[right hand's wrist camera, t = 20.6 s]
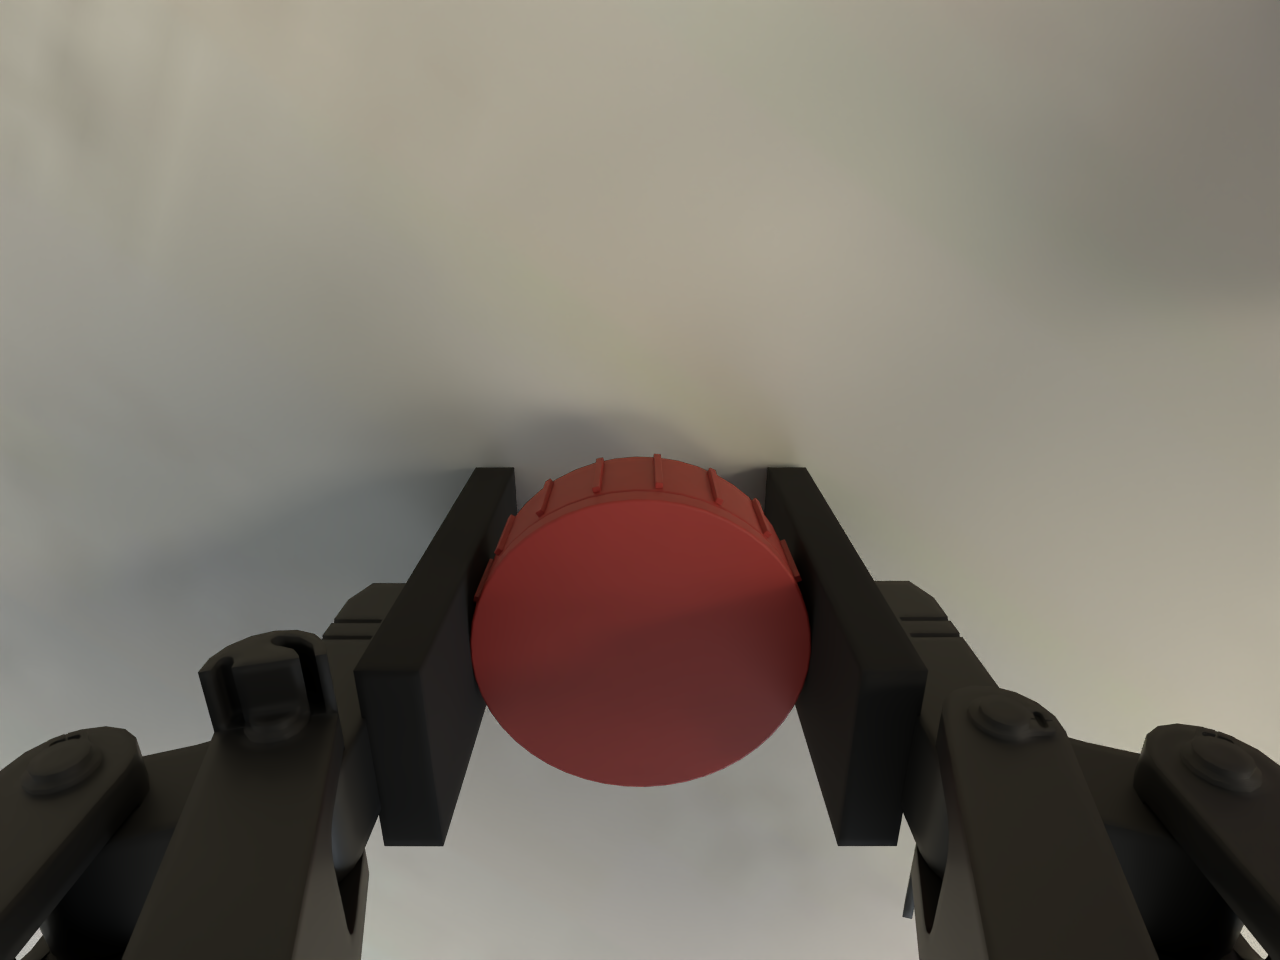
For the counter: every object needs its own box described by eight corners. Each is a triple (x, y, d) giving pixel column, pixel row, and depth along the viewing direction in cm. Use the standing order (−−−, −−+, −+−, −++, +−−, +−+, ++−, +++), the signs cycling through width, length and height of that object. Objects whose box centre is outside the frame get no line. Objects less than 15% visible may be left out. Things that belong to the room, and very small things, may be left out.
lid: (834, 657, 13) (862, 725, 11) (570, 752, 14) (560, 829, 12) (727, 401, 11) (742, 437, 9) (431, 527, 12) (397, 581, 10)
